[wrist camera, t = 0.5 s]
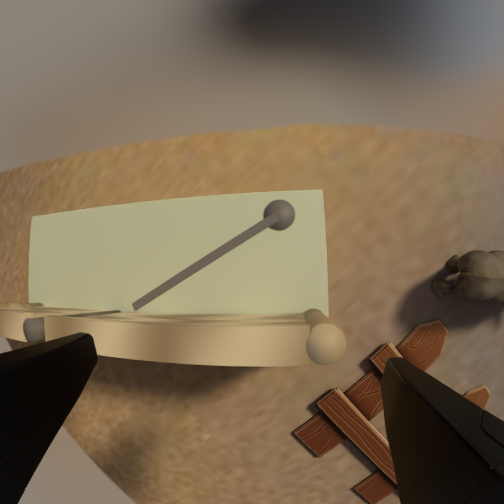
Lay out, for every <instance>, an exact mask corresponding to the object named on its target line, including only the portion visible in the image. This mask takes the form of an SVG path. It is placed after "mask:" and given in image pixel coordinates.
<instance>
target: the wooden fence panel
mask: <svg viewBox="0 0 504 504" xmlns="http://www.w3.org/2000/svg"><path fill="white" fill-rule="evenodd" d="M120 312H121V311H119V310H113V311H104V310H88V309H74V308H61V307H49V306H44V305H43V304H42V303H4V304H0V336H2V337H6V338H10V339H14V340H19V341H23V342H29V341H30V342H33V341H39V340H45V328H44V316H48V315H58V316H68V317H87V316H95V315H104V314H112V313H120Z"/></svg>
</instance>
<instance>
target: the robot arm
mask: <svg viewBox="0 0 504 504" xmlns="http://www.w3.org/2000/svg"><path fill="white" fill-rule="evenodd" d="M97 359H98V356H97V351H96V347H95V343H94V339H93V337H92V335H91V334H89V333H84V332H79V333H75V334H72V335H68V336H64V337H61V338H57V339H54V340H50V341H46V342H43V343H39V344H35V345H31V346H28V347H24V348H20V349H16V350H13V351H9V352H5V353H1V354H0V504H18V502H19V500H20V498H21V497H22V495H23V493H24V491H25V488H26V487H27V485H28V483H29V481H30V479H31V478H32V476H33V474H34V472H35V470H36V469H37V467H38V465H39V463H40V462H41V460H42V458H43V456H44V455H45V453H46V451H47V449H48V448H49V446H50V444H51V443H52V441H53V439H54V437H55V436H56V434H57V433H58V431H59V429H60V428H61V426H62V424H63V423H64V421H65V419H66V418H67V416H68V414H69V413H70V411H71V410H72V408H73V406H74V405H75V403H76V402H77V400H78V398H79V397H80V395H81V393H82V391H83V389H84V387H85V385H86V383H87V381H88V379H89V377H90V375H91V373H92V371H93V369H94V367H95V365H96V363H97ZM381 393H382V401H383V410H384V419H385V428H386V434H387V439H388V443H389V448H390V452H391V457H392V461H393V466H394V471H395V476H396V481H397V486H398V491H399V497H400V502H401V504H504V421H502V420H501V419H499V418H497V417H496V416H494V415H492V414H491V413H489V412H487V411H486V410H482V408H481V407H479V406H478V405H476V404H475V403H473V402H471V401H470V400H468V399H467V398H465V397H464V396H462V395H460V394H459V393H457V392H456V391H454V390H452V389H451V388H449V387H448V386H446V385H445V384H443V383H441V382H440V381H438V380H437V379H435V378H434V377H432V376H430V375H429V374H427V373H426V372H424V371H423V370H421V369H419V368H418V367H416V366H415V365H413V364H412V363H410V362H408V361H407V360H405V359H404V358H402V357H390V358H388V359H387V361H386V364H385V368H384V372H383V376H382V380H381Z"/></svg>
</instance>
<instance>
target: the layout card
mask: <svg viewBox="0 0 504 504" xmlns="http://www.w3.org/2000/svg"><path fill="white" fill-rule="evenodd" d="M29 303H42V304H43V305H44V306H49V307H61V308H74V309H88V310H104V311H113V310H119V311H121V312H139V313H170V314H282V313H304V312H305V311H307V310H308V309H318V310H320V311H321V312H322V313H323V314H324V315H325V316H326V317H328V274H327V250H326V232H325V216H324V201H323V190H297V191H275V192H256V193H240V194H225V195H212V196H199V197H187V198H176V199H166V200H156V201H146V202H137V203H128V204H120V205H111V206H103V207H96V208H88V209H81V210H74V211H67V212H60V213H53V214H47V215H40V216H34V217H32V222H31V235H30V251H29ZM328 318H329V317H328Z"/></svg>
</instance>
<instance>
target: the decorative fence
mask: <svg viewBox="0 0 504 504" xmlns="http://www.w3.org/2000/svg"><path fill="white" fill-rule="evenodd" d="M447 334H448V330H447V329H446V328H445V326H444V325H443V324H442V322H441V321H439V320H436V321H432V322H428V323H424V324H420V325H418V326H416V327H415V328H414V329H413V330H412V331H411V332H410V333H409V334H408V335H407V336H406V337H405V338H404V339H403V340H402V341H401V342H400V343H399V344H398V345H397V346H396V347H394V346H393V345H392V344H391V343H390V342H386V343H385V344H384V345H383V346H382V347H381V348H380V349H379V350H377V351H376V352H375V353H374V354H373V355H372V356H371V357H370V358H369V362H370V363H371V365H372V366H373V367H374V368H372V369H371V370H370V371H369V372H368V373H367V374H366V375H364V376H363V377H362V378H361V379H360V380H359V381H358V382H356V383H355V384H354V385H353V386H352V387H350V388H349V389H348V390H347V391H346V392H344V393H342V392H341V391H340V390H339V388H334V389H332V390H331V391H330V392H329V393H327V394H326V395H325V396H323V397H322V398H321V399H320V400H318V401H317V402H316V407H317V408H318V409H319V410H320V412H319V413H318V414H316V415H315V416H314V417H312V418H311V419H309V420H308V421H307V422H305V423H304V424H303V425H301V426H300V427H298V428H297V429H296V430H294V435H295V436H296V437H297V438H298V439H299V440H300V441H301V442H302V443H303V444H304V445H305V446H306V447H307V448H308V449H309V450H310V451H311V452H312V453H314V454H315V455H316V456H317V457H321V456H323V455H324V454H326V453H327V452H328V451H330V450H331V449H333V448H334V447H336V446H337V445H338V444H340V443H341V442H343V441H344V440H345V439H348V440H349V441H350V442H351V443H352V444H353V445H354V446H355V447H356V448H357V449H358V450H359V451H360V452H361V453H362V454H363V455H364V456H365V457H366V458H367V459H368V460H369V461H370V462H371V463H372V464H373V465H374V466H375V467H377V468H378V470H377V471H376V472H374V473H373V474H371V475H370V476H369V477H367V478H366V479H364V480H363V481H361V482H360V483H358V484H357V485H355V486H354V487H353V490H354V491H355V492H357V493H358V494H359V495H360V496H361V497H362V498H364V499H365V500H366V501H367V502H368V503H370V504H376V503H378V502H379V501H381V500H382V499H384V498H385V497H387V496H388V495H390V494H391V493H392V492H394V491H395V490H397V489H398V486H397V481H396V476H395V471H394V466H393V461H392V457H391V452H390V448H389V443H388V441H387V440H386V439H385V438H384V437H383V436H382V435H381V434H380V433H379V432H378V431H377V430H376V429H375V427H374V426H373V425H372V424H371V423H370V422H369V421H370V420H371V419H372V418H374V417H375V416H376V415H377V414H378V413H380V412H381V411H382V410H383V401H382V393H381V380H382V376H383V372H384V368H385V364H386V361H387V359H388V358H390V357H402V358H404V359H405V360H407V361H408V362H410V363H412V364H413V365H415V366H416V367H418V368H419V369H421V370H423V371H424V372H425V371H426V370H427V369H428V368H429V367H430V366H431V365H432V364H433V363H434V362H435V361H436V360H437V359H438V357H439V356H440V355H441V354H442V351H443V347H444V344H445V341H446V337H447ZM463 396H464V397H465V398H467V399H468V400H470V401H471V402H473V403H475V404H476V405H478V406H479V407H481V408H482V410H484V409H485V407H486V404H487V402H488V399H489V397H490V393H489V391H488V389H487V388H486V386H484V385H482V386H480V387H477V388H474V389H472V390H469V391H467V392H466V393H465V394H464V395H463Z"/></svg>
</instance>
